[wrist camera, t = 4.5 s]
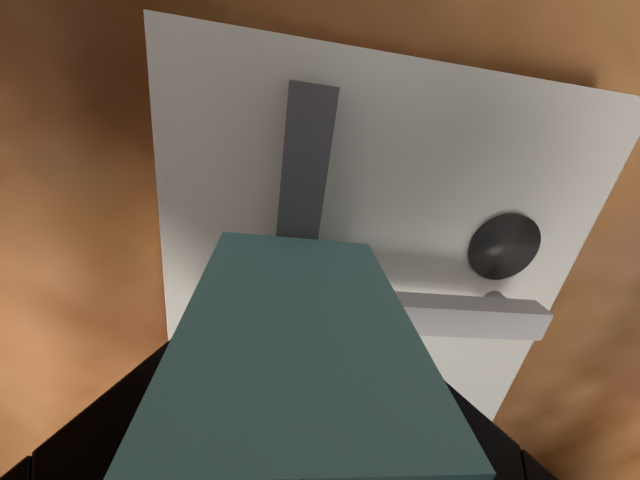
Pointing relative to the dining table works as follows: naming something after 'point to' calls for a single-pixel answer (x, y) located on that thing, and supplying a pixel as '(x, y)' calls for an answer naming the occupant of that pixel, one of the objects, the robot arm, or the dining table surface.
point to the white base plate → (380, 169)
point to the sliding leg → (312, 372)
